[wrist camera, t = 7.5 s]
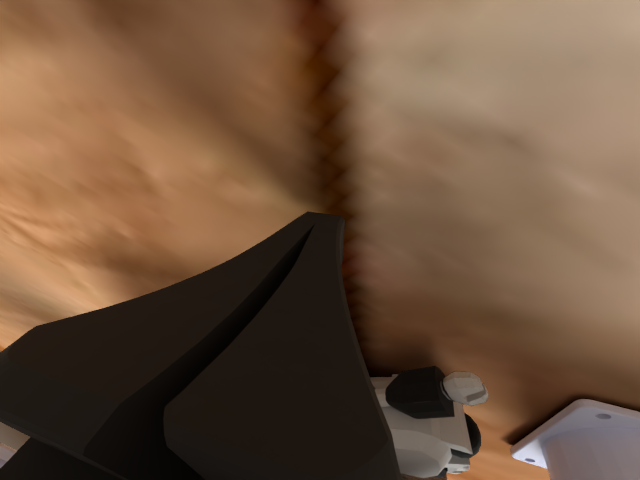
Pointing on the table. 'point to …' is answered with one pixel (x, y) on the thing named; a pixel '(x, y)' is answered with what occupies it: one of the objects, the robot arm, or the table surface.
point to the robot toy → (431, 419)
